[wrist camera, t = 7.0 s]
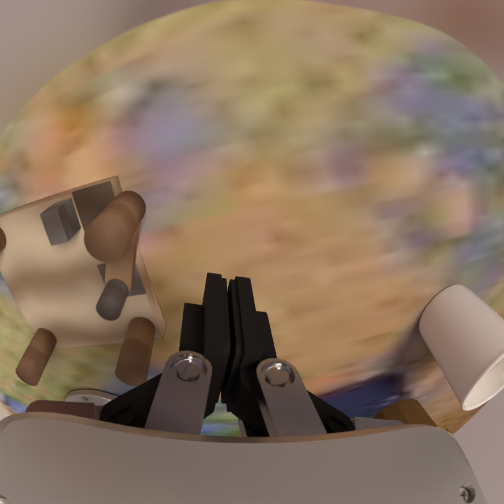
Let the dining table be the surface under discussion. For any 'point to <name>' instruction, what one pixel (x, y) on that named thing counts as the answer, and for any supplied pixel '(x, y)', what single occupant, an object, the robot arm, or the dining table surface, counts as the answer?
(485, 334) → the white paper cup
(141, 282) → the stool
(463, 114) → the dining table surface
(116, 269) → the hinged leg
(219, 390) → the robot arm
